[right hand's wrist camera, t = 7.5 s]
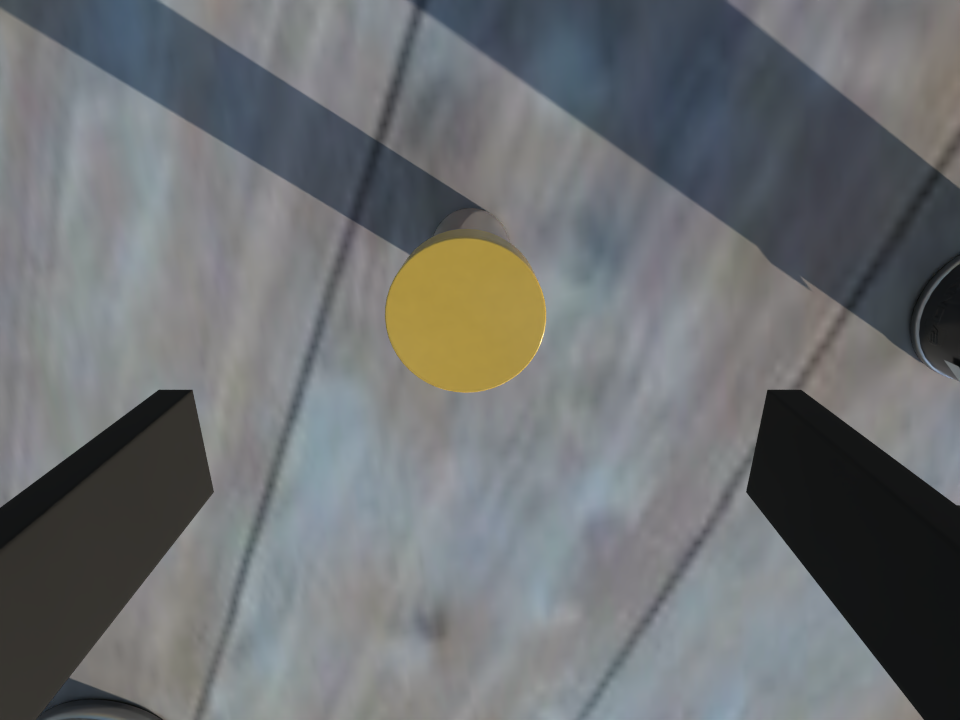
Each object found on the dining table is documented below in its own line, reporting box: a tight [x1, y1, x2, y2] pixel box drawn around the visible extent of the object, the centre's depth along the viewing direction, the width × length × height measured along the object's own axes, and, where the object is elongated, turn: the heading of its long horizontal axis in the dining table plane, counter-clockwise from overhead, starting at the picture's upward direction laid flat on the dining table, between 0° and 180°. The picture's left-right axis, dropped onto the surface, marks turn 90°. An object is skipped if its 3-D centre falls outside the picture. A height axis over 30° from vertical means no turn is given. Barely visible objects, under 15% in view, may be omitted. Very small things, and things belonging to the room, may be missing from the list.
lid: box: [385, 229, 546, 392], centre depth 21 cm, size 6×6×2 cm
